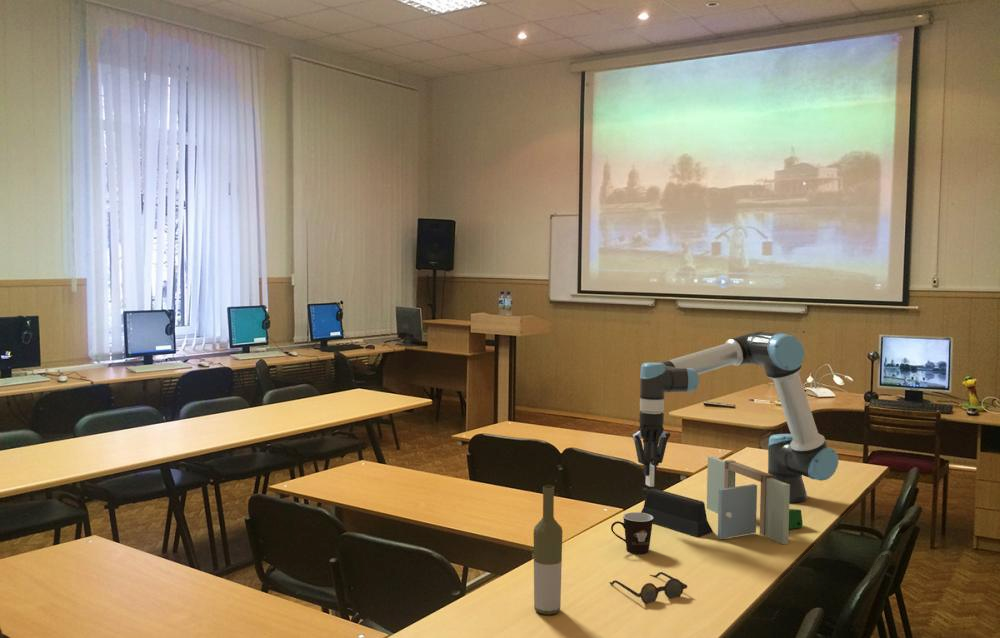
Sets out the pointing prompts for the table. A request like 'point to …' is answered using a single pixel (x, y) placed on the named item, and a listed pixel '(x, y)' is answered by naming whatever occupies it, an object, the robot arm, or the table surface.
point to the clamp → (795, 518)
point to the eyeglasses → (657, 589)
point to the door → (737, 511)
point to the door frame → (771, 498)
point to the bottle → (547, 558)
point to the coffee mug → (636, 532)
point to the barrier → (677, 512)
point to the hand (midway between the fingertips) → (649, 485)
